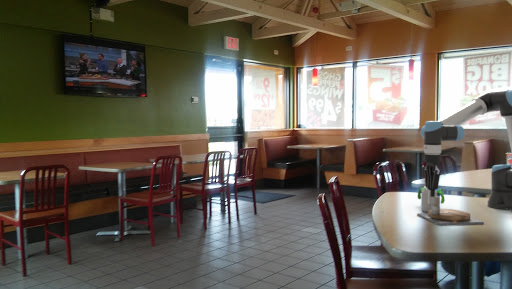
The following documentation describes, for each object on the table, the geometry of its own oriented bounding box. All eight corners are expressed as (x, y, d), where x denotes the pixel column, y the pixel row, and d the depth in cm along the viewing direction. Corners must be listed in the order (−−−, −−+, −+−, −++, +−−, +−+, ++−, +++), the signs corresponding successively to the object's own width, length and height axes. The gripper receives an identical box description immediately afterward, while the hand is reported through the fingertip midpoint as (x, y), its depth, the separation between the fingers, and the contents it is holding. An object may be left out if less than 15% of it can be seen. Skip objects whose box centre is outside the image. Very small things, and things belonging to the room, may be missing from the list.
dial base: (457, 214, 210) (457, 211, 210) (483, 224, 190) (483, 221, 189) (417, 215, 209) (417, 212, 209) (439, 225, 188) (439, 222, 188)
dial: (449, 211, 211) (449, 191, 210) (479, 219, 194) (479, 197, 193) (418, 214, 204) (418, 194, 204) (447, 222, 187) (447, 200, 187)
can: (438, 213, 214) (438, 189, 213) (422, 212, 215) (422, 189, 215) (435, 210, 221) (435, 187, 220) (420, 209, 222) (420, 187, 222)
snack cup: (449, 209, 223) (449, 190, 223) (434, 210, 219) (434, 191, 219) (427, 204, 238) (427, 186, 237) (412, 205, 234) (412, 187, 233)
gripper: (418, 152, 204) (417, 200, 206) (431, 155, 191) (429, 206, 193) (433, 152, 205) (432, 200, 206) (447, 155, 192) (445, 206, 193)
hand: (431, 203), depth 200 cm, fingers closed
